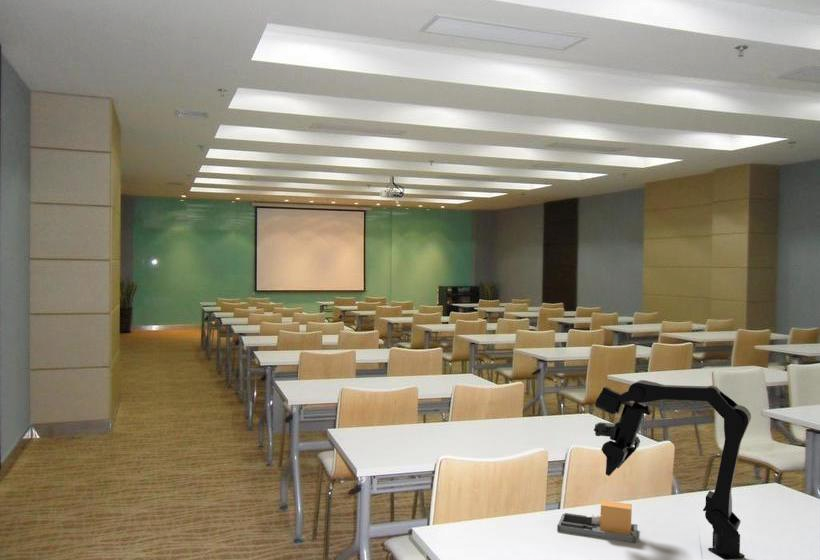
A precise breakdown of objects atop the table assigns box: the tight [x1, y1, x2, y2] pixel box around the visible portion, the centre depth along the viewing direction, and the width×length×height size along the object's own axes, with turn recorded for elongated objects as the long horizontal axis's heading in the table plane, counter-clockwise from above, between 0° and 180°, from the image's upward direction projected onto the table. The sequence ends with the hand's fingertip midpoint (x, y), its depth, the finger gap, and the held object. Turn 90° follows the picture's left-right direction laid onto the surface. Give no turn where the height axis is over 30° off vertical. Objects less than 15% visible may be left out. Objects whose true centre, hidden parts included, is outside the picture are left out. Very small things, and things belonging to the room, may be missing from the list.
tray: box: [556, 512, 638, 544], centre depth 188 cm, size 21×10×3 cm, turn 69°
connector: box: [591, 499, 633, 535], centre depth 187 cm, size 10×4×8 cm, turn 69°
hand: (612, 471), depth 192 cm, fingers open, 9 cm apart
